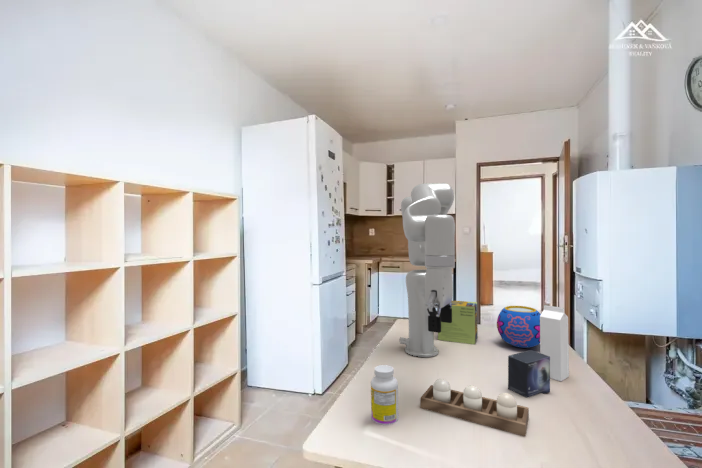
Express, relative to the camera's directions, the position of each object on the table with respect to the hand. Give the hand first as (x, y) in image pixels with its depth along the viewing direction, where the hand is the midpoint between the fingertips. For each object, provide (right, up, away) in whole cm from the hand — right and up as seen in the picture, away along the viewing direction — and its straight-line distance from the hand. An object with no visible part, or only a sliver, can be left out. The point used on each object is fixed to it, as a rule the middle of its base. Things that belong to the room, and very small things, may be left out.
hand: (440, 326), depth 89 cm
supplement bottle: (-15, -22, -6) cm, 27 cm away
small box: (+27, -21, +8) cm, 35 cm away
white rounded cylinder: (0, -20, 0) cm, 20 cm away
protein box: (+23, -21, +57) cm, 64 cm away
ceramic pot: (+45, -21, +46) cm, 67 cm away
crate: (+7, -21, -4) cm, 23 cm away
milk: (+41, -21, +18) cm, 49 cm away
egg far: (+13, -20, -9) cm, 26 cm away
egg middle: (+7, -20, -4) cm, 22 cm away
